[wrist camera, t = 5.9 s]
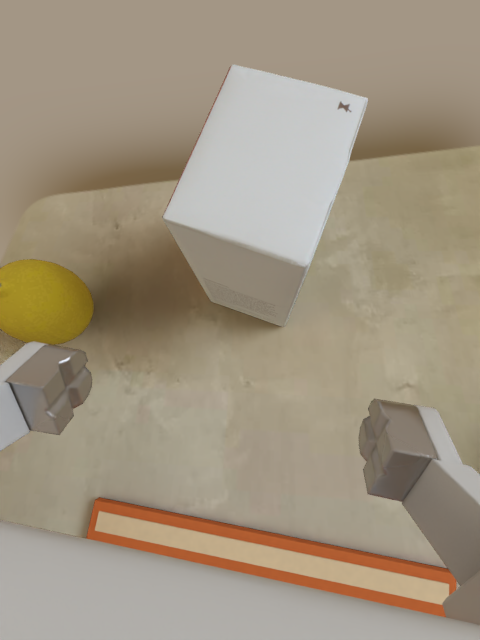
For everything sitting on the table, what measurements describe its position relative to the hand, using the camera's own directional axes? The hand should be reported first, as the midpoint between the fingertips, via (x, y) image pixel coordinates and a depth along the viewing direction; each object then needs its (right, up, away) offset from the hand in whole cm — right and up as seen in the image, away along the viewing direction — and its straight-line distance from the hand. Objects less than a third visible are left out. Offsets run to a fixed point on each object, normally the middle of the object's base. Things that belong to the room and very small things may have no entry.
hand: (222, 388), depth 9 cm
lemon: (-12, +2, +17) cm, 21 cm away
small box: (+2, +6, +17) cm, 18 cm away
